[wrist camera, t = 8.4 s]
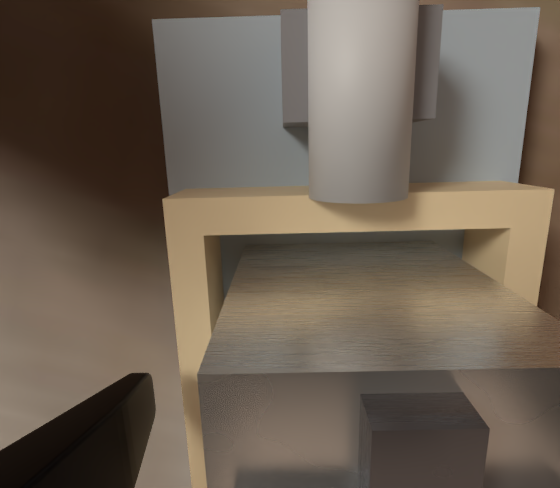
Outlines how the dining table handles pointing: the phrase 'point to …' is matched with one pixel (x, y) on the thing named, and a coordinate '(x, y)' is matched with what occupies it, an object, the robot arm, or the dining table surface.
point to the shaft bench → (246, 111)
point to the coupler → (378, 373)
